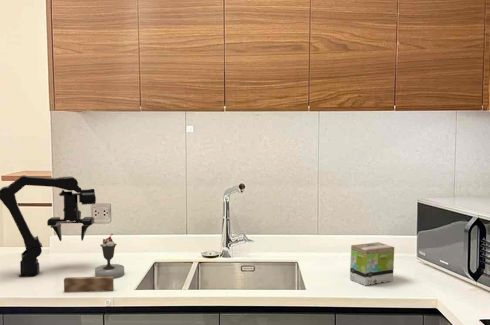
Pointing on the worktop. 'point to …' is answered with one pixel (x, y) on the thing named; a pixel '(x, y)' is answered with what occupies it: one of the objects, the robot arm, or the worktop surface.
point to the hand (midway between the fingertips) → (71, 240)
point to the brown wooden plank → (88, 284)
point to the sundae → (108, 251)
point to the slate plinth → (110, 271)
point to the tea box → (371, 263)
